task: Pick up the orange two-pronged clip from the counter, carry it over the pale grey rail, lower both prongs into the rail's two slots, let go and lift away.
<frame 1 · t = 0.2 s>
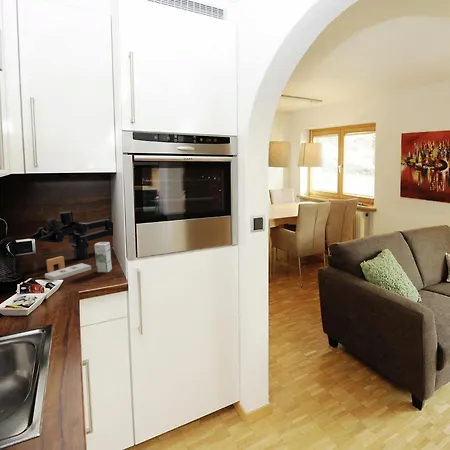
hand: (34, 238, 187), 17 cm above the worktop, tool horizontal, fingers open, 9 cm apart
clip: (56, 269, 190), on the worktop
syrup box: (104, 271, 187), on the worktop
rail: (68, 273, 184), on the worktop
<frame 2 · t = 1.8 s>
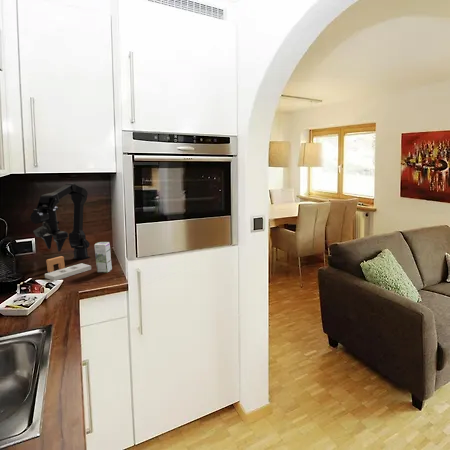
hand: (54, 250, 188), 10 cm above the worktop, tool pointing down, fingers open, 9 cm apart
nothing on the worktop moved.
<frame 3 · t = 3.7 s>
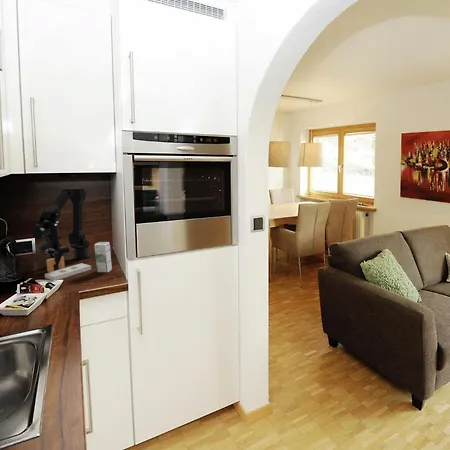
hand: (55, 264, 189), 3 cm above the worktop, tool pointing down, fingers closed on clip, 2 cm apart
clip: (56, 269, 190), on the worktop, touching gripper
everything else where it was.
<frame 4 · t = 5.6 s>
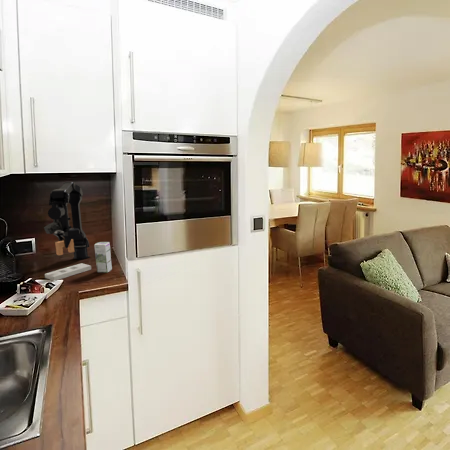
hand: (65, 247, 181), 13 cm above the worktop, tool pointing down, fingers closed on clip, 2 cm apart
clip: (65, 253, 182), point 10 cm above the worktop, touching gripper
everything else where it was.
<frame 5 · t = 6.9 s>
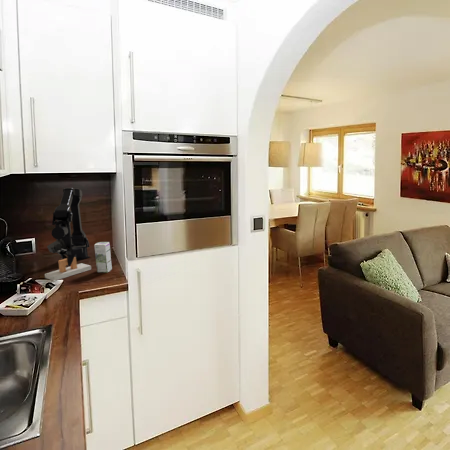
hand: (68, 265, 183), 4 cm above the worktop, tool pointing down, fingers closed on clip, 2 cm apart
clip: (68, 270, 183), point 1 cm above the worktop, touching gripper
everything else where it was.
when the fingers open (3 cm above the worktop, at t = 7.6 s): clip stays where it is, resting in rail.
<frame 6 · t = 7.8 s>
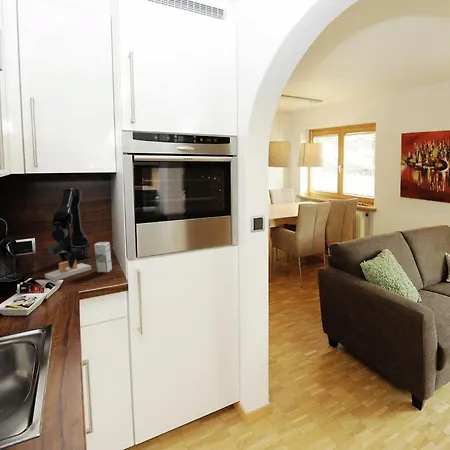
hand: (68, 267, 183), 3 cm above the worktop, tool pointing down, fingers open, 4 cm apart
clip: (68, 273, 184), resting in rail
everything else where it was.
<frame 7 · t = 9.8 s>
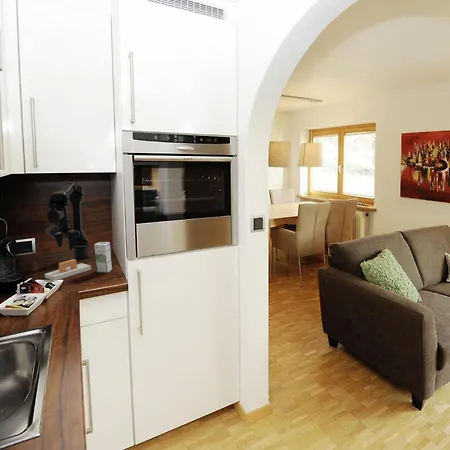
hand: (65, 248, 186), 11 cm above the worktop, tool pointing down, fingers open, 9 cm apart
nothing on the worktop moved.
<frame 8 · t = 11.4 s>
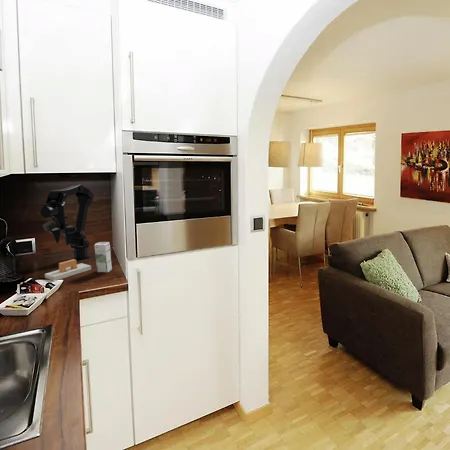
hand: (62, 244, 193), 12 cm above the worktop, tool pointing down, fingers open, 9 cm apart
nothing on the worktop moved.
at the end: clip 0.0 cm off-centre on the rail, point 0.0 cm above the rail's base; clip tilted 0°; the gripper is holding nothing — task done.
